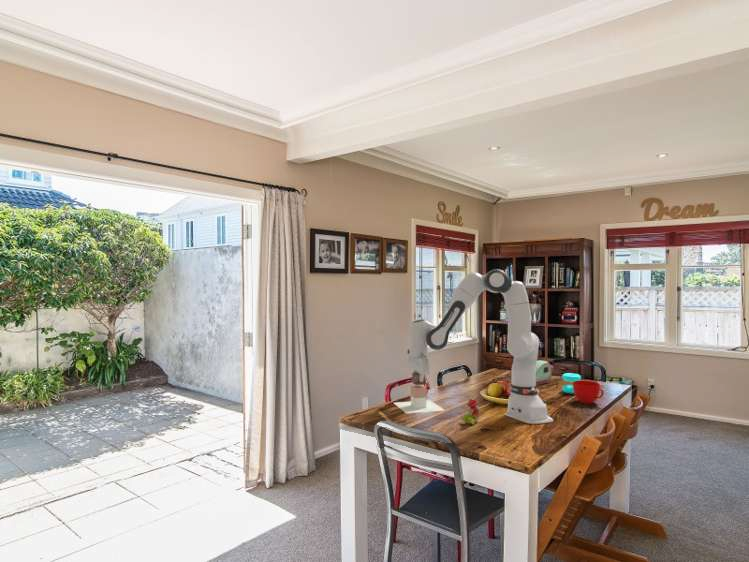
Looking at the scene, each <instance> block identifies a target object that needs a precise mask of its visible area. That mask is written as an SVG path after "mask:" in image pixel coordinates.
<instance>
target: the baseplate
mask: <svg viewBox="0 0 749 562" xmlns="http://www.w3.org/2000/svg"><path fill="white" fill-rule="evenodd" d="M393 404H394V405H395V406H396V407H398V408H399V409H400V410H401V411H402V412H404V413H405V414H406V415H407V414H415V413H429V412H443V411H446V409H444V408H443V407H441V406H440V405H438V404H436V403H435V402H433V401H432V400H430V399H426V408H414V407H412V406H411V400H409V401H399V402H398V401H397V402H393Z"/></svg>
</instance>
